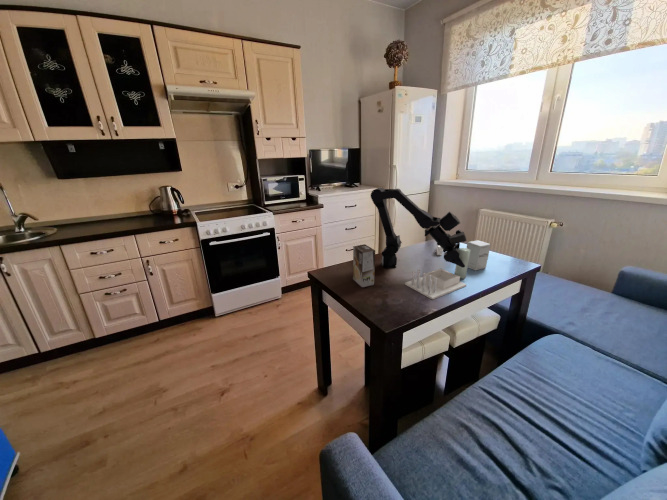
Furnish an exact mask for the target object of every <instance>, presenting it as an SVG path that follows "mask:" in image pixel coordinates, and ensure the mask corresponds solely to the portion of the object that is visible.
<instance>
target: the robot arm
mask: <svg viewBox="0 0 667 500" xmlns="http://www.w3.org/2000/svg"><path fill="white" fill-rule="evenodd" d="M370 198H371V201H372V203H373V204H374V206H375V207H376V209H377V211H378V214H379V217H380V221H381V225H382V227H383V232H384V234H385V235H384V236H385V247H384V249H383V250H382V252H381V258H382V259H381V262H380V264H381V266H382V267H383V269H396V268H397V264H398V263H397V262H398V257H397V253H398V251H400V248H401V247H402V246H401V245H402V244H403V243H402V240H401V237H400V236H401V235H397V234H396V232H395V231H394V226H393V223H392V220H391V216H390V212H389V209H388V207H387V202H388V201H387V200H389V199H395V200H396V202H398V203H399V204H400V205H401V206H402V207H403V208H404V209H405V210H406V211H407V212H409V213H410V214H411V215H412V216H413V217H414V219H415V221H416V222H417V224H418V225H419V226H420V228H421V229H423V230H424V237H427V236H428V235H429V236H430V237H431V238H432V239H433V240H434V241H435V243H436V246H437V245H438V246H440V247H441V248H442V249H443V251H442V253H443V259H444V261H445V262H448V263H452V264H453V265H455V266H456V265H458V266H460V267H463V268H464V267H465V265H464V263H463V262H462V260H461V258H460V257H459V255H460V252H459V251H458V249H459V248H460V246H461V245H460V243H465V242H466V241H467V236H466V234H465V231H462V230H460V229H456V231H455V233H454V234H452V235H451V234H449V233H447V232H448V231H449V232H450V231H452V230H453V229H454V228H456V227H458V225H460V224H461V221H460V220H459V218H458V217H457V215H455V214H453V212H451V211H448V212H447V213H446V214H445V215H444V216H443V217H436V216H433V215H432V214H430V213H429V212H428V211H426V210H424V209H422V208H420V206H418V205H417V204H416V203H415V202H413V201H412V199H410V198H409V196H407V195H406V194H405V193H404V192H403V191H402V190H401V189H400V188H383V187H377V188H375V189H373V190H372V191H371V193H370Z"/></svg>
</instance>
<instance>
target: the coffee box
mask: <svg viewBox="0 0 667 500" xmlns="http://www.w3.org/2000/svg"><path fill="white" fill-rule="evenodd" d="M352 257H353V258H352V259H353V260H352V263H353V264H352V279H353V281H354V282H355V283H356V284H358V285H359V287H361V288H365V287H370V286H374V285H375V269H376V268H375V266H376V262H375V261H376V250H375V249H374V248H372V247H370V246H369V245H367V244H365V243H364V244H357V245H354V246H353V247H352Z"/></svg>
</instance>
